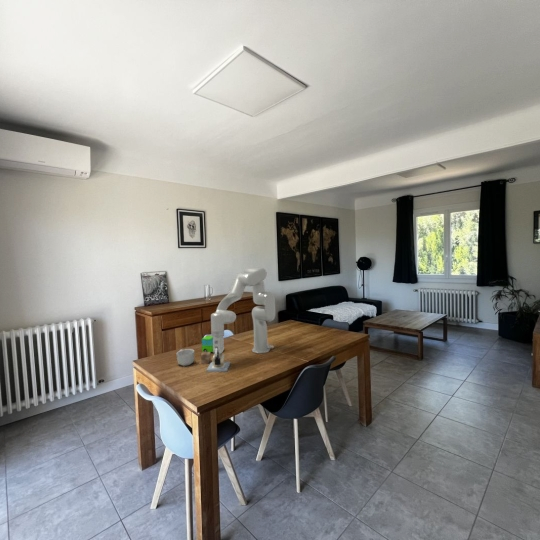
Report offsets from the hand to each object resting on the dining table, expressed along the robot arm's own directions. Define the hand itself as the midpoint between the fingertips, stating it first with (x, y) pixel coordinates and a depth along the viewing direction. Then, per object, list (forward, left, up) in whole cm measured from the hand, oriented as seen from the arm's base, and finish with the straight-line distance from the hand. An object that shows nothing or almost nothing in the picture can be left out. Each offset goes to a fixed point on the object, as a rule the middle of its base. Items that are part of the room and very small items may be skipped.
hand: (218, 362), depth 170 cm
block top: (+10, -9, -3) cm, 14 cm away
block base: (0, 0, -1) cm, 1 cm away
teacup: (+23, -8, -3) cm, 25 cm away
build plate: (0, 0, -3) cm, 3 cm away
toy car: (+10, -30, -3) cm, 32 cm away
